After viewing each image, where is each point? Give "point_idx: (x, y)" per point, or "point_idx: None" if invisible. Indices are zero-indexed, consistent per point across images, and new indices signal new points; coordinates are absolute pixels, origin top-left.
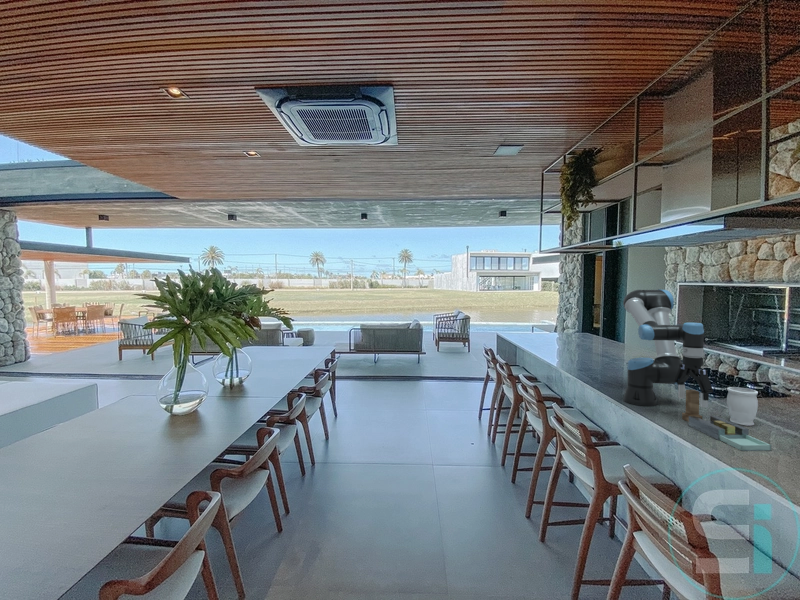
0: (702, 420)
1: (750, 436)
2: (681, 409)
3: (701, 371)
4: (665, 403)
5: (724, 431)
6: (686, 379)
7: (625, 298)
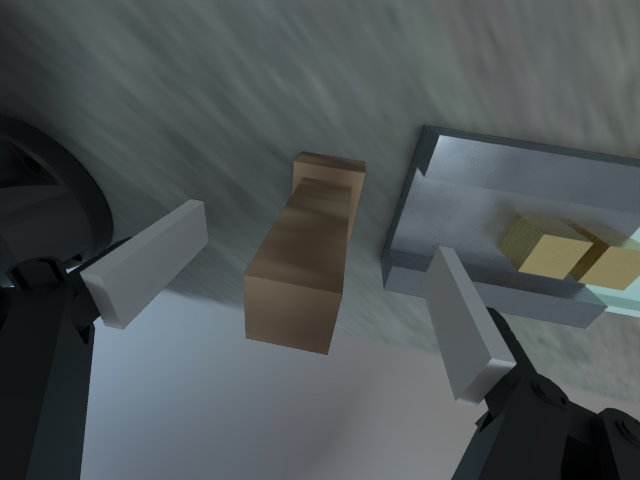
0: None
1: None
2: (126, 64)
3: None
4: (9, 64)
5: (598, 299)
6: (56, 384)
7: None
